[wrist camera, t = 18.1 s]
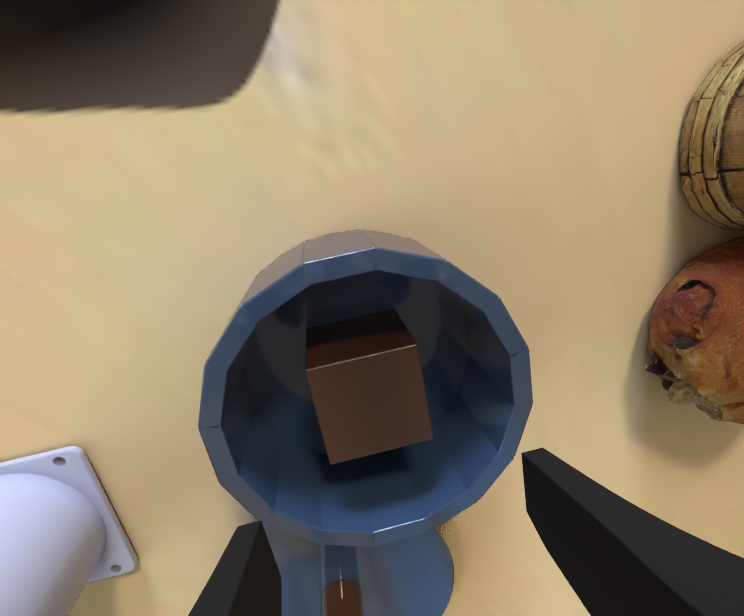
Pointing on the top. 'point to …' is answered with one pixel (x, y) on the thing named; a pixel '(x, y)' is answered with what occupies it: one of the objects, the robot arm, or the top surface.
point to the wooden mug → (716, 145)
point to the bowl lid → (364, 576)
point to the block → (367, 386)
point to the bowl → (296, 409)
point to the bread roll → (703, 334)
